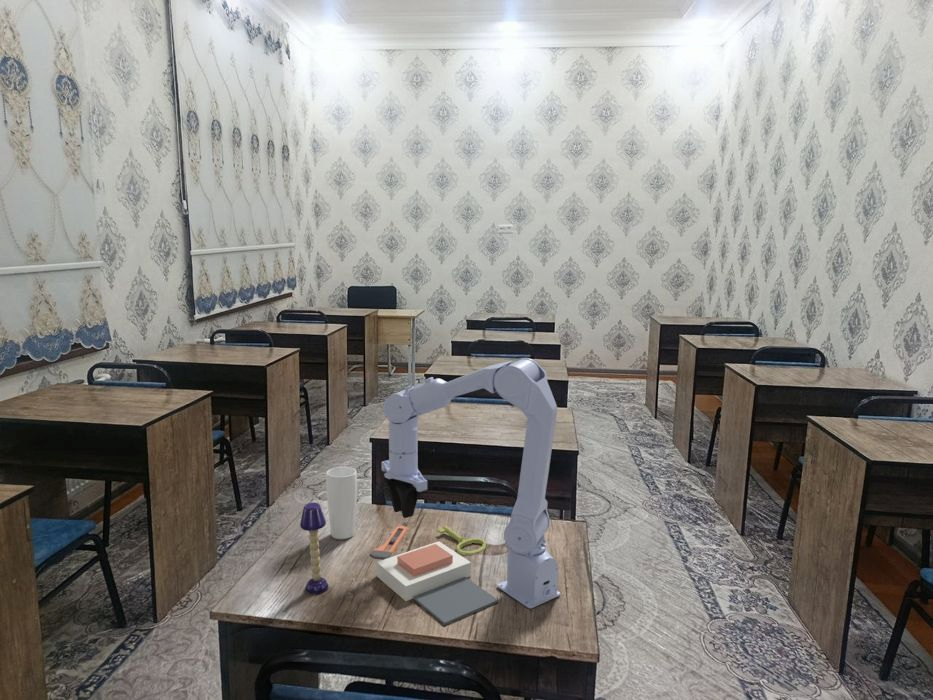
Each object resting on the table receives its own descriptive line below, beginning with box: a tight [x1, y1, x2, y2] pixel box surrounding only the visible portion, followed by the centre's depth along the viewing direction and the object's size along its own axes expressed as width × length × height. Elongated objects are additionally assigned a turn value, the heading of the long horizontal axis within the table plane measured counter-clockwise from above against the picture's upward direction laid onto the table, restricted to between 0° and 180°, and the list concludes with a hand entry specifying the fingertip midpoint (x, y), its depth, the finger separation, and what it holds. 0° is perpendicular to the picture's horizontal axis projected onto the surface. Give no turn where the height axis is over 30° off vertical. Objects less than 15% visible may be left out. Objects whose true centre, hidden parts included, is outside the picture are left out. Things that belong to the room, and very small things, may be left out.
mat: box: [412, 577, 499, 626], centre depth 115 cm, size 10×12×1 cm
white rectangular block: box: [375, 541, 472, 602], centre depth 123 cm, size 11×15×3 cm
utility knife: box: [370, 521, 409, 560], centre depth 139 cm, size 4×1×18 cm
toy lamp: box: [300, 502, 329, 595], centre depth 117 cm, size 5×5×17 cm
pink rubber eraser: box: [397, 544, 453, 576], centre depth 122 cm, size 6×9×2 cm, turn 127°
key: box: [437, 525, 487, 556], centre depth 137 cm, size 7×12×2 cm, turn 58°
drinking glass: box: [325, 466, 358, 540], centre depth 139 cm, size 7×7×15 cm
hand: (403, 513), depth 127 cm, fingers open, 3 cm apart
